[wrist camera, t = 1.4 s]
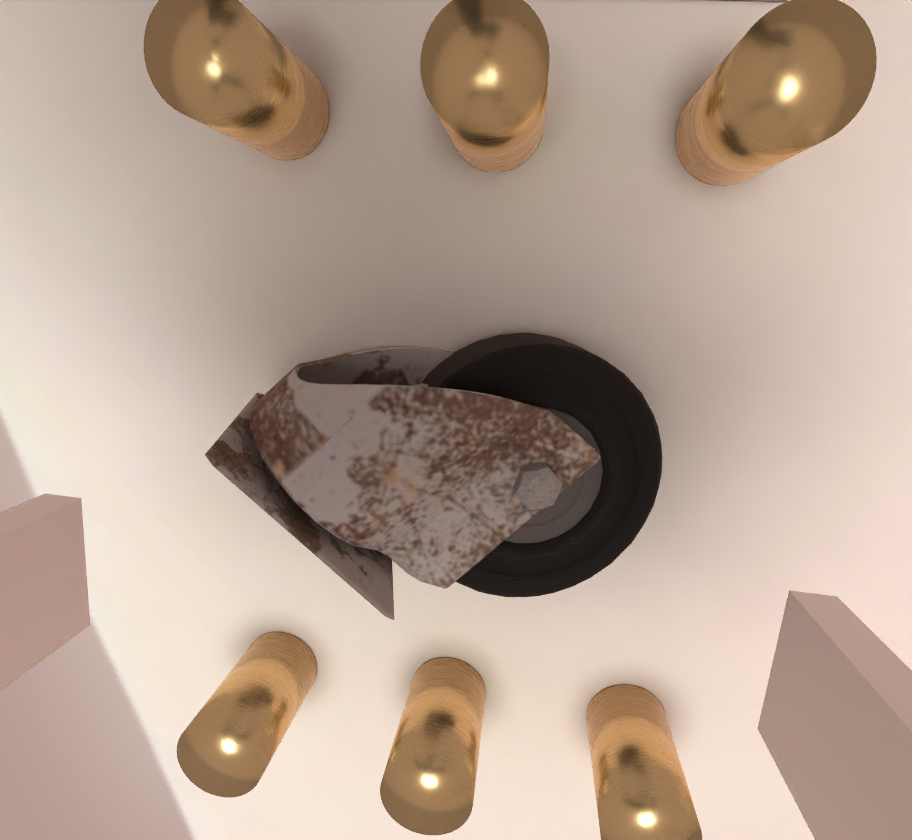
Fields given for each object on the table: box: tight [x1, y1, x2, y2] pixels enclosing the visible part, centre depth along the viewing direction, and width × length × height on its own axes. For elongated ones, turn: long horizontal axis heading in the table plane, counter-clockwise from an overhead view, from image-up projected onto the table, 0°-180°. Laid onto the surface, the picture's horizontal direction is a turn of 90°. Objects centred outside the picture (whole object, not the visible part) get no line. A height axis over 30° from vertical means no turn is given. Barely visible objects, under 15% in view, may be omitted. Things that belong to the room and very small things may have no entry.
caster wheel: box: [205, 333, 662, 620], centre depth 18 cm, size 7×11×10 cm
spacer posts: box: [144, 0, 876, 840], centre depth 18 cm, size 24×17×5 cm
